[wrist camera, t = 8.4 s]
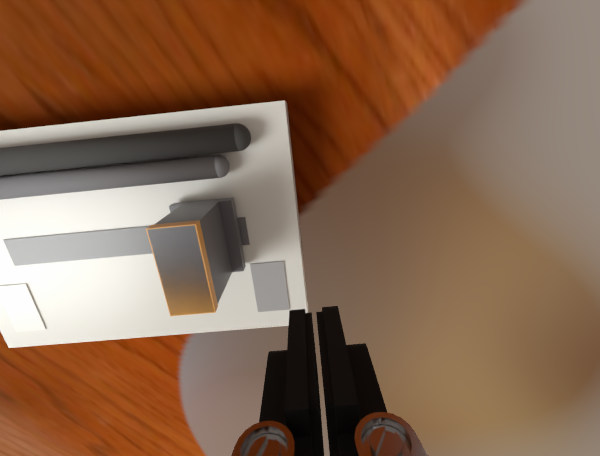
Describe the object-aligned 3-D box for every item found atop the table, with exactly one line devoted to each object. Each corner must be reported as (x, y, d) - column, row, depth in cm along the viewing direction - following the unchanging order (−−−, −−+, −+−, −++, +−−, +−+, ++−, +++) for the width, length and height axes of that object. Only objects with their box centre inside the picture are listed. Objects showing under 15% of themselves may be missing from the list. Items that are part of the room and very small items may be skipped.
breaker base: (286, 102, 21) (283, 98, 17) (307, 302, 27) (309, 337, 22) (-45, 138, 22) (-129, 143, 18) (38, 324, 28) (-11, 362, 23)
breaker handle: (233, 196, 20) (210, 222, 15) (245, 266, 22) (229, 311, 17) (173, 202, 20) (130, 230, 15) (190, 271, 22) (157, 317, 17)
